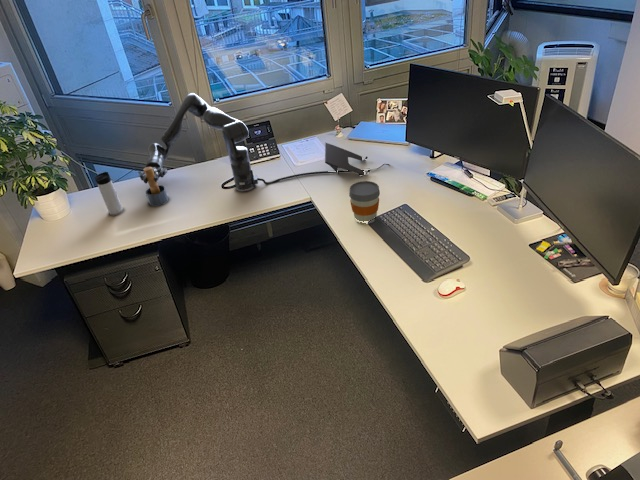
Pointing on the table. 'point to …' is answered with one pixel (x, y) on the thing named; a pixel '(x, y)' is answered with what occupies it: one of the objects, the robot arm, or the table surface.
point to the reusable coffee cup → (364, 200)
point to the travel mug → (109, 193)
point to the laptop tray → (341, 158)
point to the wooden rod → (151, 180)
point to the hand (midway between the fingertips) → (150, 180)
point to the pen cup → (157, 197)
